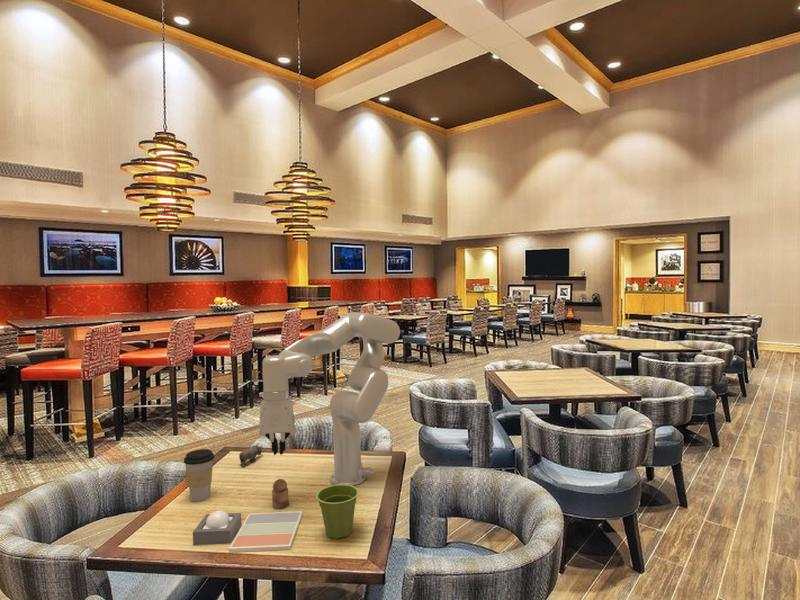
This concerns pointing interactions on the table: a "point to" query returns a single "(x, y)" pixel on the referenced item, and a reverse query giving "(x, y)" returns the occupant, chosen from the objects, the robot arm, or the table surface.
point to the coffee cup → (199, 473)
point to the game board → (267, 532)
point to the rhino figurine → (250, 454)
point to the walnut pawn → (280, 494)
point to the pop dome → (217, 520)
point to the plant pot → (338, 509)
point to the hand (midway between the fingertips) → (278, 452)
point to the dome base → (217, 531)
